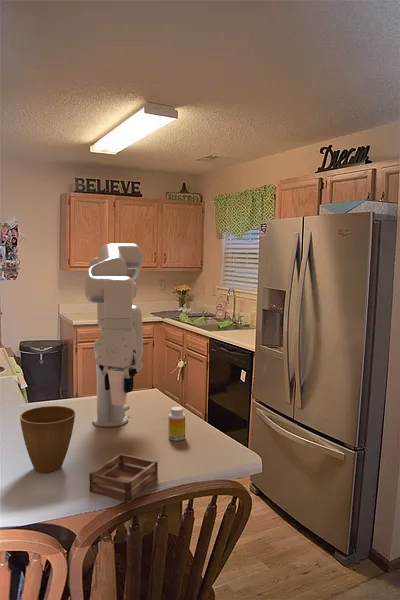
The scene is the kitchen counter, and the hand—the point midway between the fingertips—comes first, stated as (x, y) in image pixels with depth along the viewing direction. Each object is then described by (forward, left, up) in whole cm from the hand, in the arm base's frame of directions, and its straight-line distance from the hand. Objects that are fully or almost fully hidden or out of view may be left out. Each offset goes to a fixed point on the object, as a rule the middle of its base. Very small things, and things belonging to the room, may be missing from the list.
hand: (118, 389), depth 130 cm
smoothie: (0, 0, -4) cm, 4 cm away
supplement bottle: (-31, +1, -25) cm, 40 cm away
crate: (+4, +4, -24) cm, 25 cm away
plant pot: (+5, -21, -25) cm, 33 cm away
